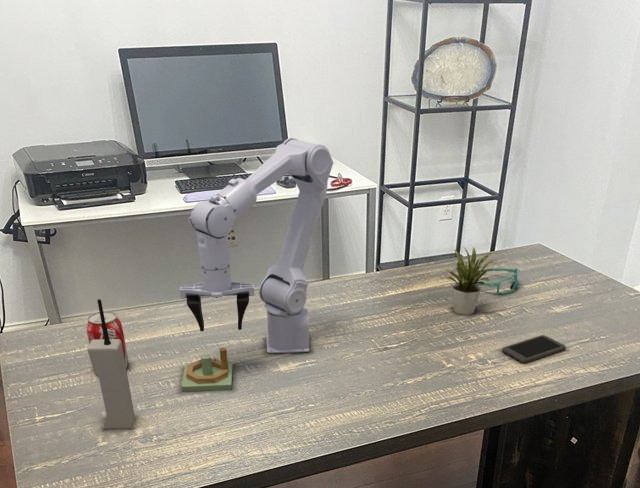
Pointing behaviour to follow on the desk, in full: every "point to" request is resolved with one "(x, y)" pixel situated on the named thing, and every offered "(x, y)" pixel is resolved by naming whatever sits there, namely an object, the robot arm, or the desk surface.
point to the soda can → (112, 326)
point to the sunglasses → (504, 279)
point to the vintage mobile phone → (112, 378)
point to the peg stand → (207, 371)
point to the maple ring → (215, 362)
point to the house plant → (468, 282)
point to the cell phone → (533, 348)
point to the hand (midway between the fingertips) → (221, 328)
